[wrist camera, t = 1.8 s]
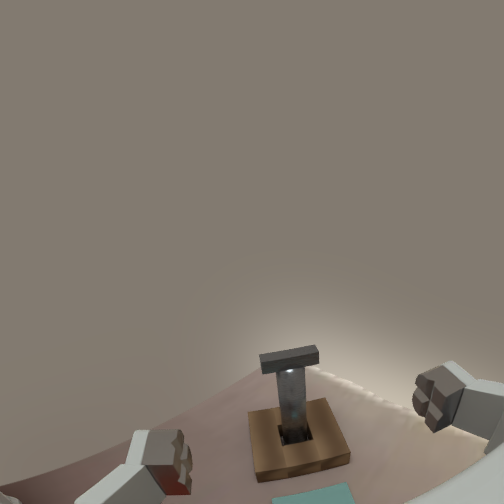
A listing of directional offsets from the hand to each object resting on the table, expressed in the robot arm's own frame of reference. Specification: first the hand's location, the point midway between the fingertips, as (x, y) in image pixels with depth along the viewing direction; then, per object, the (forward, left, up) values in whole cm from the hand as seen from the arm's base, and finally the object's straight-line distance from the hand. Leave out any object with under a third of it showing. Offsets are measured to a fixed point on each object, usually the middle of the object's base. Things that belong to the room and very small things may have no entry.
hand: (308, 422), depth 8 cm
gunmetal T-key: (+3, +24, -30) cm, 39 cm away
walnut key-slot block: (+3, +24, -30) cm, 39 cm away
